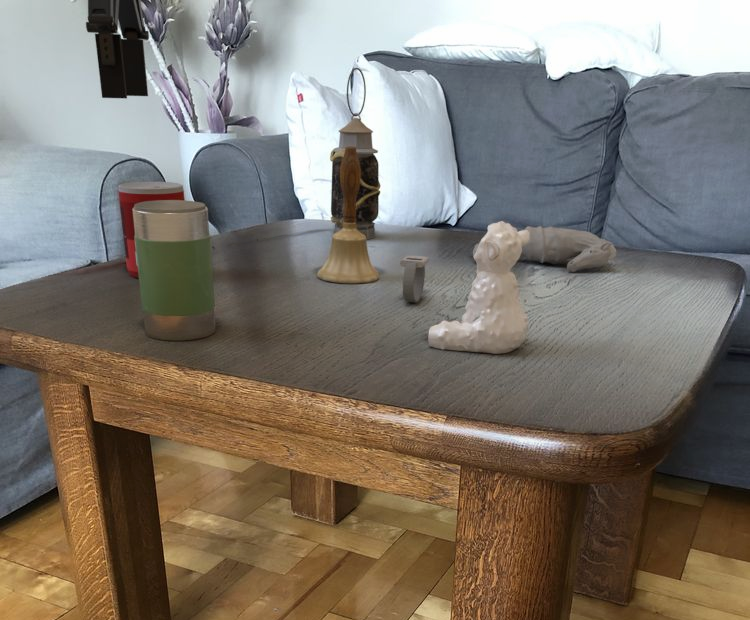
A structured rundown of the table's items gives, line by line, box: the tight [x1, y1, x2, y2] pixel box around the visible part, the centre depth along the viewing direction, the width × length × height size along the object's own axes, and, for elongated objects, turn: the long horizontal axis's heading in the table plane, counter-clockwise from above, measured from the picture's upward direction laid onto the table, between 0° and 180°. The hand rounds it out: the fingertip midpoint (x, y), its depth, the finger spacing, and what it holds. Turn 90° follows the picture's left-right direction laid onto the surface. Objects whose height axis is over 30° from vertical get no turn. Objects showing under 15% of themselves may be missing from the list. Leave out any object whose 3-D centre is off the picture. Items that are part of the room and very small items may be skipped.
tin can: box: [133, 200, 216, 342], centre depth 81 cm, size 7×7×12 cm
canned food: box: [117, 181, 186, 279], centre depth 105 cm, size 8×8×11 cm
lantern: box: [329, 67, 381, 241], centre depth 131 cm, size 9×8×25 cm
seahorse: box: [472, 225, 617, 273], centre depth 118 cm, size 5×12×20 cm
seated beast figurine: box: [427, 220, 530, 355], centre depth 79 cm, size 10×9×12 cm
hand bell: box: [316, 146, 381, 285], centre depth 105 cm, size 8×8×16 cm
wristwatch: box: [399, 255, 430, 304], centre depth 96 cm, size 6×3×5 cm, turn 164°
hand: (126, 97), depth 101 cm, fingers open, 13 cm apart
